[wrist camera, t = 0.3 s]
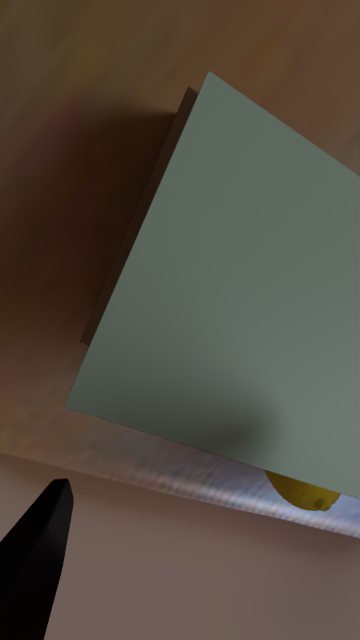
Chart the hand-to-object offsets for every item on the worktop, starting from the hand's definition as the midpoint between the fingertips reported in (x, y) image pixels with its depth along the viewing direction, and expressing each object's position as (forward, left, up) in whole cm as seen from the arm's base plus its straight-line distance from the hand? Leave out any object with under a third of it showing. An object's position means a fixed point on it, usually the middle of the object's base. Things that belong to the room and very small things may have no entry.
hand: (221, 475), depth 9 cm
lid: (-2, -5, -5) cm, 7 cm away
